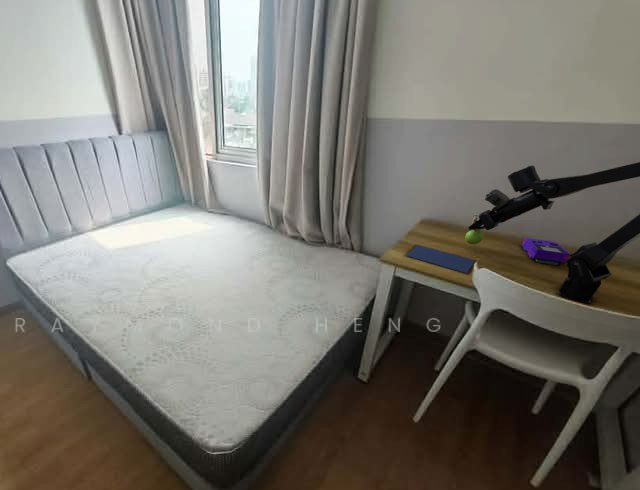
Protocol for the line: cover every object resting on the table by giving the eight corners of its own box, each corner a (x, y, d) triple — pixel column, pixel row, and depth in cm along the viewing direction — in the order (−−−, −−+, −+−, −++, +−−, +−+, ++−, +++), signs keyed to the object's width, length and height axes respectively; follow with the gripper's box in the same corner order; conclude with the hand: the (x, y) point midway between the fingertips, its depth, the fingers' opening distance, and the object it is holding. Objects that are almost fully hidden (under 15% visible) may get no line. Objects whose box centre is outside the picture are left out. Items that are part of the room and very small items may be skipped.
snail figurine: (457, 242, 119) (468, 212, 112) (470, 239, 120) (482, 210, 114) (470, 248, 114) (482, 217, 108) (483, 245, 116) (496, 214, 109)
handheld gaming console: (555, 240, 118) (572, 252, 106) (549, 253, 120) (564, 266, 108) (525, 236, 121) (537, 248, 109) (519, 249, 124) (531, 261, 112)
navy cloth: (474, 261, 113) (475, 260, 113) (466, 273, 106) (466, 272, 106) (417, 245, 125) (417, 245, 125) (406, 256, 118) (406, 255, 118)
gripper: (520, 178, 106) (473, 202, 120) (496, 188, 98) (448, 213, 111) (537, 206, 105) (488, 227, 119) (515, 218, 96) (464, 240, 110)
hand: (472, 226), depth 115 cm, fingers closed on snail figurine, 5 cm apart
